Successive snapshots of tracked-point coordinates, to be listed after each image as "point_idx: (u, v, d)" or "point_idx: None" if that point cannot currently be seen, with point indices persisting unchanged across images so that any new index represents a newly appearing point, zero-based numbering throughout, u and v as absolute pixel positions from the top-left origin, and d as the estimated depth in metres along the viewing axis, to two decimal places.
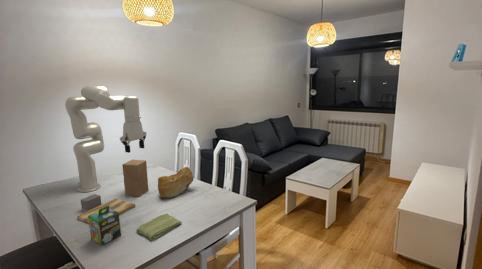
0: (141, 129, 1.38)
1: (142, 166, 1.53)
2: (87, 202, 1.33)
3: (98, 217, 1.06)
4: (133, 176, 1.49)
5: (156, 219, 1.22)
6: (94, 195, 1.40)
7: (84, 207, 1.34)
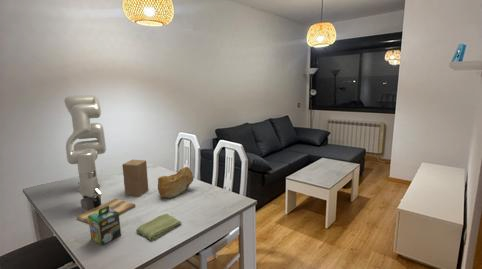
0: None
1: (142, 166, 1.53)
2: (87, 202, 1.33)
3: (98, 217, 1.06)
4: (134, 176, 1.49)
5: (156, 219, 1.21)
6: None
7: (84, 207, 1.34)
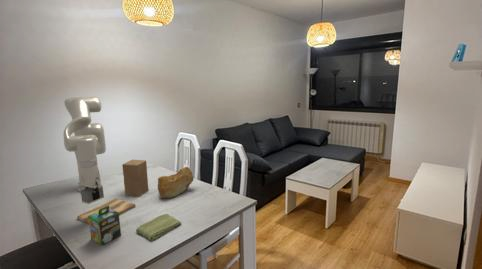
0: None
1: (142, 166, 1.53)
2: (88, 193, 1.19)
3: (98, 217, 1.06)
4: (134, 176, 1.49)
5: (156, 219, 1.21)
6: None
7: (85, 198, 1.20)
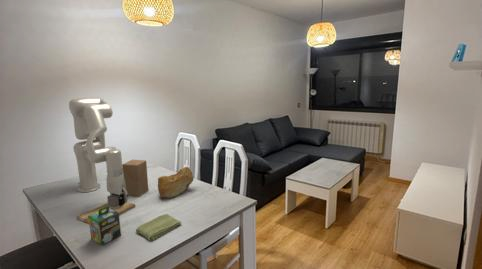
0: None
1: (142, 166, 1.53)
2: (114, 199, 1.33)
3: (98, 217, 1.06)
4: (134, 176, 1.49)
5: (156, 219, 1.21)
6: None
7: (111, 203, 1.34)
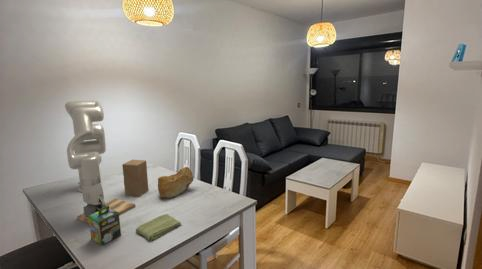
0: None
1: (142, 166, 1.53)
2: (91, 210, 1.21)
3: (98, 217, 1.06)
4: (134, 176, 1.49)
5: (156, 219, 1.21)
6: (98, 202, 1.28)
7: (88, 214, 1.22)
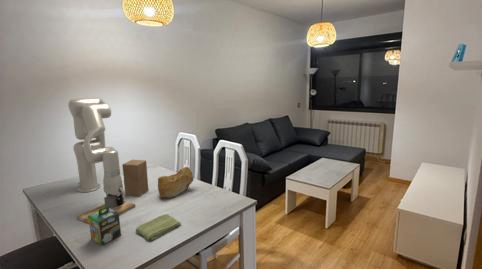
0: None
1: (142, 166, 1.53)
2: (111, 200, 1.31)
3: (98, 217, 1.06)
4: (134, 176, 1.49)
5: (156, 219, 1.21)
6: None
7: (108, 205, 1.32)
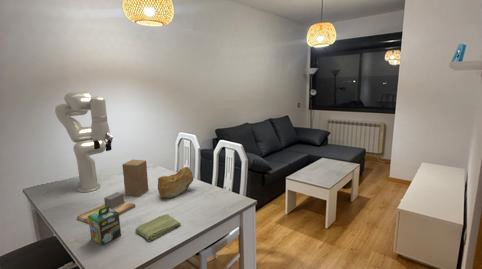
0: None
1: (142, 166, 1.53)
2: (111, 200, 1.31)
3: (98, 217, 1.06)
4: (134, 176, 1.49)
5: (156, 219, 1.21)
6: (117, 193, 1.38)
7: (108, 205, 1.32)
